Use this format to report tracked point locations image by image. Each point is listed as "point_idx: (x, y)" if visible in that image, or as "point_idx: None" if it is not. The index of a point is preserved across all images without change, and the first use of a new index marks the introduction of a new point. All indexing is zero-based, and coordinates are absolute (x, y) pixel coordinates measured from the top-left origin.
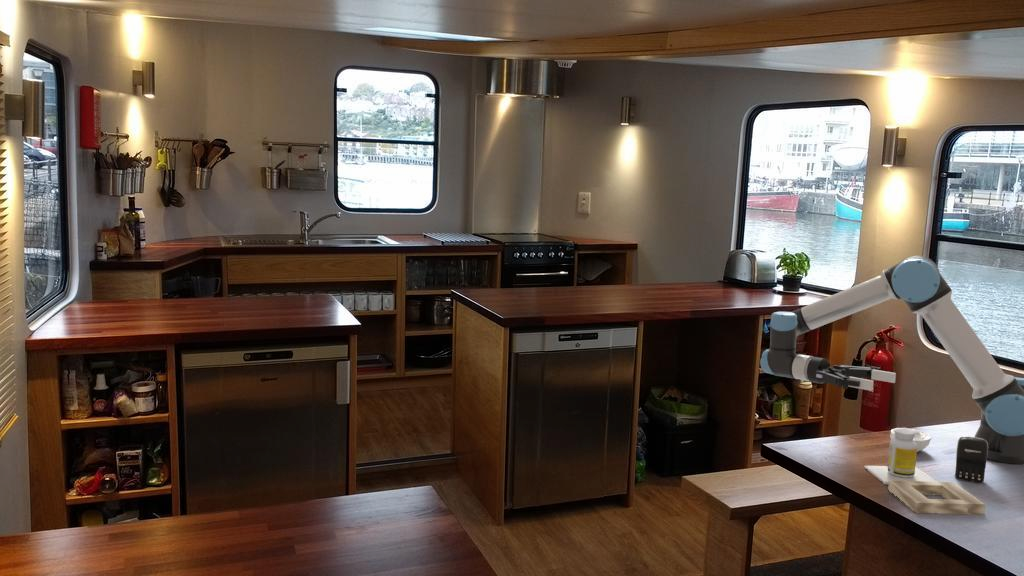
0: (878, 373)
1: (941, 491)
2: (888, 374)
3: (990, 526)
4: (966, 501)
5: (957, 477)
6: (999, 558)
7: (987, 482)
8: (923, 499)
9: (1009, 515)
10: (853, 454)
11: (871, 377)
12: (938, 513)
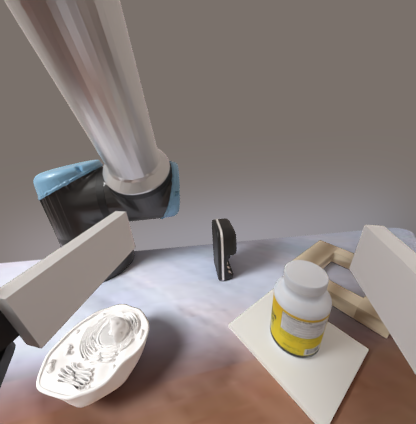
0: (66, 273)
1: None
2: (110, 233)
3: (340, 243)
4: (333, 249)
5: (232, 275)
6: (398, 233)
7: None
8: None
9: (295, 239)
10: None
11: (37, 340)
12: None
